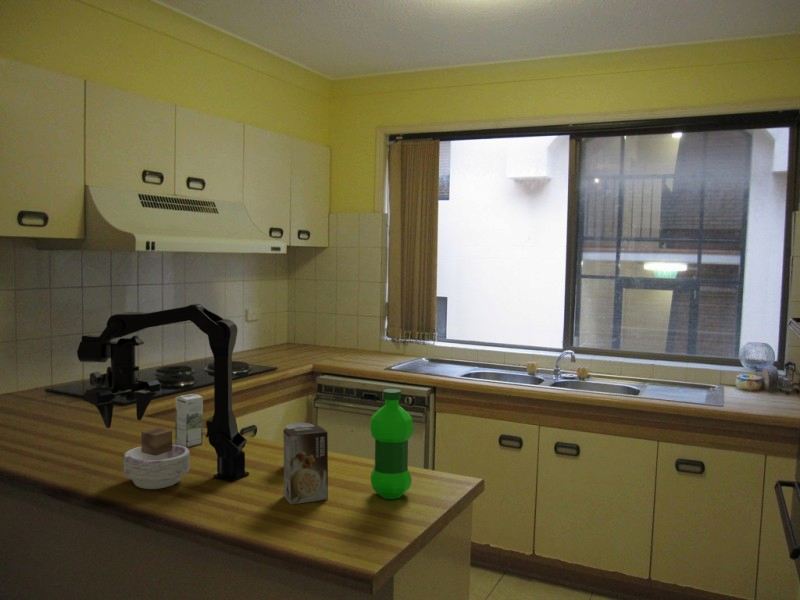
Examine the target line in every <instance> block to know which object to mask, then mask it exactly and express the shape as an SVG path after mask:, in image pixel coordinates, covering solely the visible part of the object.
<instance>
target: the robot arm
mask: <svg viewBox="0 0 800 600" xmlns="http://www.w3.org/2000/svg"><path fill="white" fill-rule="evenodd" d="M189 321H190V322H192V323H193V324H194V325H195V326H196V327H197V328H198V329H199V330H200V331H201V332H203V333H204V334H206V335H207V339H208V345H209V347H210V351H211V353H212V356H213V372H214V373H213V382H214V383H213V384H214V385H213V390H214V391H213V393H214V395H213V397H214V401H213V403H214V404H213V405H214V407H213V408H214V409H213V410H214V412H213V415H212V416H210V417H209V418H208V419H207V420H206V422H205V426H206V435H205V438H207V439H208V443H209V445H210V446H211V447H212V448H214V450H215V453H216V458H217V460H216V464H217V467H216V473H214V474H213V478H216V479H220V480H224V481H229V482H234V481H236V480H239V479H241V478H243V477H246V476H249V475H250V472H249V471H246V452H245V451H244V450H243V449H244V448H245V447H246V444H247V441H248V440H247V438H245V436H243V434H241V433H240V432H239V428H238V424H237V418H236V417H235V414H234V413H235V412H234V411H233V365H232V364H233V363H232V362H233V361H232V358H233V357H232V356H233V353H234V349H235V346H236V343H237V336H238V326H237V324H236V323H235V322H234V321H233V320H231V319H227V318H223V317H221V316H220V315H219V314H217V313H215V312H212V311H211V310H209V309H207V308H206V307H204V306H203V305H201V304H200V303H193V304H188V305H186V306H181V307H176V308H175V307H174V308H169V309H163V310H159V311H152V312H151V311H150V312H141V311H138V312H134V311H132V312H131V311H127V312H122V313H116V314H112V315H111V316H109V318H108V319H107V322H106V327H105V328H104V330H103V331H102V332H101V334H100V335H92V334H91V335H90V334H85V335H82V336H81V341H80V342H79V345H78V347H77V351H76V355H77V359H78V360H79V362H80V363H106V362H107V361H108V359H110V366H107V368H106V373H102V374H101V372H100V371H95V372H92V373H90V374H89V384H90V386H91V387H92V388H87V389H86V390H85V391H84V392H83V402H88V403H89V404H90V405H94V406H95V408H96V409H97V411H99V414H100V416H101V419H102V421H103V423H104V426H105V428H106V429H110V428H111V427H112V421H113V411H114V403H115V402H114V401H112V399H113V398H114V397H116V396H120V395H125V394H129V393H132V394H133V395H134V397H135V402H136V404H135V405H136V406H135V407H136V408H135V409H136V419H137V421H142V419H143V417H144V415H145V413H146V411H147V409H148V407H149V405H150V403H151V402H152V400H153V398H154V396H155V395H157V392H160V391H161V382H159V380H158V379H156V378H155V379H154V378H147V377H145V378H141V379H136V372H137V371H140V366H138V365H136V347H138V346H142V345H144V343H145V341H143V340H142V339H141V338H140V337H139V336H138V335H132V334H135V333H138V332H141V331H143V330H146V329H148V328H154V327H159V326H164V325H171V324H177V323H182V322H189ZM128 335H132V337H131V338H128V337H126V336H128ZM123 337H124V338H123ZM125 337H126V338H125ZM118 338H119V339H118ZM116 339H118V340H117V341H112V340H116ZM95 386H96V387H95ZM93 387H94V388H93Z"/></svg>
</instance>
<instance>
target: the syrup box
mask: <svg viewBox="0 0 800 600" xmlns="http://www.w3.org/2000/svg"><path fill="white" fill-rule="evenodd" d="M174 401H175V402H174V403H175V406H174V407H175V411H174V412H175V416H174V417H175V418H174V420H175V423H174V424H175V425H174V426H175V428H174V429H175V434H174V435H175V436H174V438H175V439H174V443H175V444H174V445H180V446H183V447H186V448H191V447H195V446H199V445H203V443H204V442H203V432H204V430H203V427H204V425H203V424H204V420H203V419H204V418H203V417H204V409H203V408H204V397H203V396H202V395H199V394H195V393H190V394H183V395H179V396H175V400H174Z"/></svg>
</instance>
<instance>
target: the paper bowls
mask: <svg viewBox="0 0 800 600" xmlns="http://www.w3.org/2000/svg"><path fill="white" fill-rule="evenodd" d="M190 458H191V457H190V450H189V447H187V448H186V447H183V446H180V445H176V444H173V443H172V451H169V452H166V453H163V454H160V455H157V456H155V455H150V454H146V453H142V445H141V446H138V447H134V448H131V449H129V450H127V451H126V452H125V453H124V454H123V464H122V465H123V475H124V476H125V477H126V478H128V479H131V480H132V482H133V484H134V485H135V486H136V487H137V488H140V489H145V490H159V489H164V488H169V487H172V486H174V485H175V484H177V483H178V482H179V481H180V479H181V477H182V476H183V475H185V474H187V473H188V472H189V471H190V465H191V464H190Z"/></svg>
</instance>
